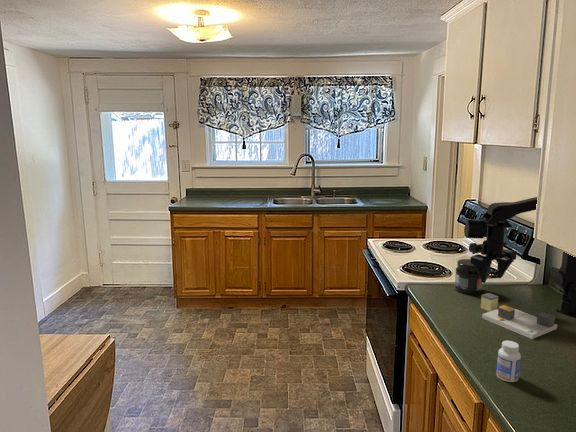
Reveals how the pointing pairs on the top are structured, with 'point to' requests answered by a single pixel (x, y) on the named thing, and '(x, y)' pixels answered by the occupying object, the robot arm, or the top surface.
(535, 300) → the top surface
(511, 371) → the pill bottle
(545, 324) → the plain toggle
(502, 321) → the panel
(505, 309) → the tagged toggle
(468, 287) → the supplement container
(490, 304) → the block
